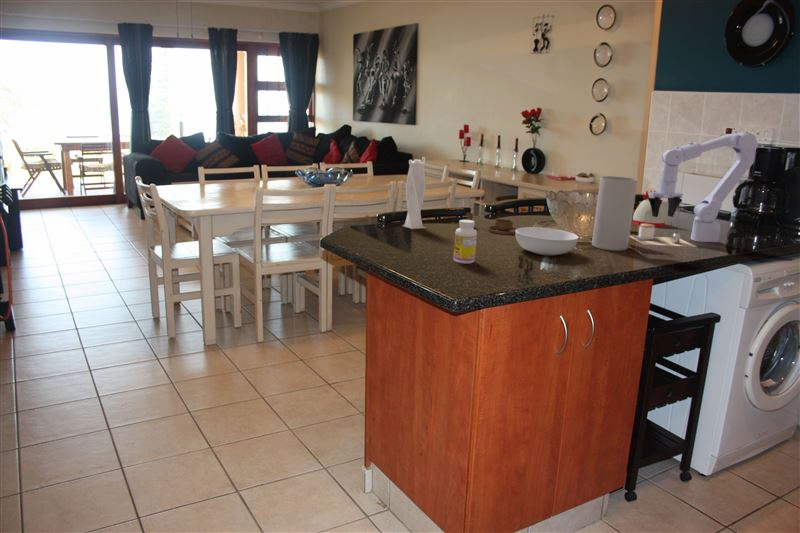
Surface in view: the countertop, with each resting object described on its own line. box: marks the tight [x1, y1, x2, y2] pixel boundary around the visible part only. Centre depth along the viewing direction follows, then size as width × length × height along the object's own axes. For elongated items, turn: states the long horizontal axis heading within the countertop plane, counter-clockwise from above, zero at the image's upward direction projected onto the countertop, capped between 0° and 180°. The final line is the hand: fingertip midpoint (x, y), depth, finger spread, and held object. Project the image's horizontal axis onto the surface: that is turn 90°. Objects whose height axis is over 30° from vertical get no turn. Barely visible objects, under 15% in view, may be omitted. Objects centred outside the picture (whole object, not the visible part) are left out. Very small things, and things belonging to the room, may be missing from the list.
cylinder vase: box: [591, 175, 638, 252], centre depth 228 cm, size 12×12×25 cm
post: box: [672, 232, 681, 244], centre depth 237 cm, size 2×2×4 cm
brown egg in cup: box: [637, 224, 656, 239], centre depth 243 cm, size 5×5×5 cm
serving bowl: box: [514, 226, 579, 257], centre depth 217 cm, size 21×21×7 cm
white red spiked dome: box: [632, 190, 666, 228], centre depth 284 cm, size 14×14×15 cm
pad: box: [630, 234, 660, 241], centre depth 243 cm, size 8×8×1 cm
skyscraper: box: [401, 156, 427, 230], centre depth 245 cm, size 8×8×28 cm
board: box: [629, 235, 698, 248], centre depth 241 cm, size 20×16×2 cm
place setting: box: [466, 212, 518, 236], centre depth 252 cm, size 18×20×6 cm
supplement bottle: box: [452, 219, 478, 264], centre depth 197 cm, size 7×7×13 cm
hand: (662, 216), depth 247 cm, fingers open, 7 cm apart
